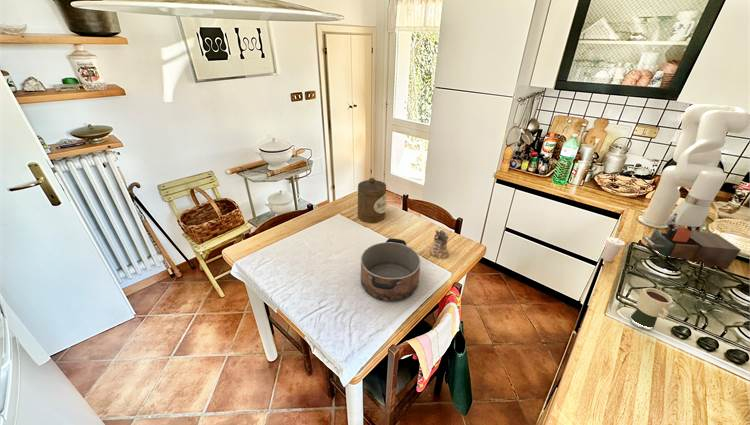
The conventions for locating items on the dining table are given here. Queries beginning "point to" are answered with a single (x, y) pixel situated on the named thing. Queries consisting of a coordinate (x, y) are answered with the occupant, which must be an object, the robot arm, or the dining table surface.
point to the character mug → (651, 306)
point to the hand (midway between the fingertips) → (676, 237)
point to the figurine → (439, 245)
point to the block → (682, 234)
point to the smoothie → (612, 248)
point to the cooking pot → (390, 270)
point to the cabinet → (714, 250)
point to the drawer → (671, 246)
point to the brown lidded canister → (371, 200)
